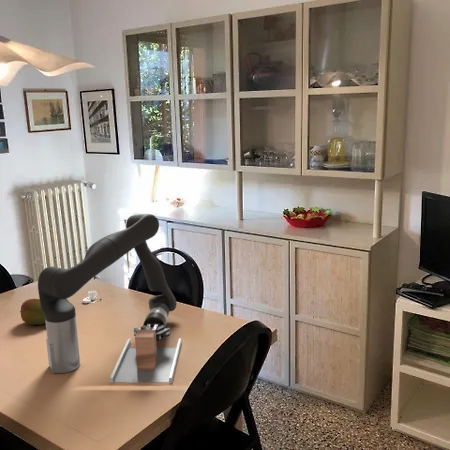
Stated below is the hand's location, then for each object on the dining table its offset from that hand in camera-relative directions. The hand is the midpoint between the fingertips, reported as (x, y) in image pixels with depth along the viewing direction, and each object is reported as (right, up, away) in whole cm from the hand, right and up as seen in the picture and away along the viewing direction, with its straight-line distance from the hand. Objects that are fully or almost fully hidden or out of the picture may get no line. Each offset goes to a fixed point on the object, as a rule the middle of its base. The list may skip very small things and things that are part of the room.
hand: (147, 343), depth 161 cm
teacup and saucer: (-36, +5, +57) cm, 68 cm away
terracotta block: (0, -7, -1) cm, 7 cm away
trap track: (0, -7, +2) cm, 7 cm away
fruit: (-48, 0, +34) cm, 59 cm away
